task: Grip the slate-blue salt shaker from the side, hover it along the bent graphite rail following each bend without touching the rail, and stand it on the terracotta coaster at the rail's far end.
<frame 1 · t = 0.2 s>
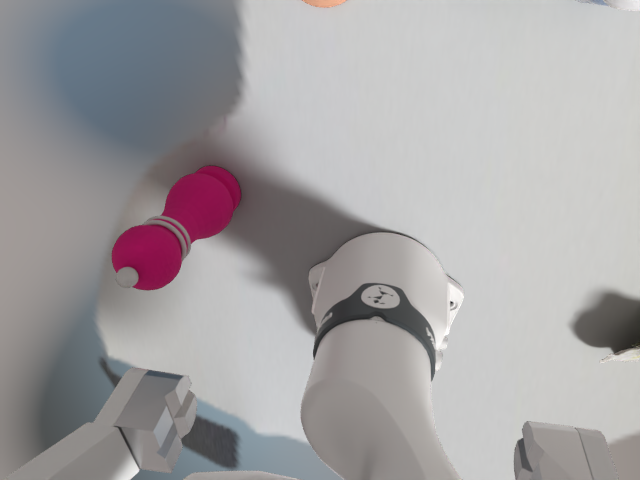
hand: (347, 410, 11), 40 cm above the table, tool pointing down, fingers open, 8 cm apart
pepper mill: (217, 189, 55), on the table
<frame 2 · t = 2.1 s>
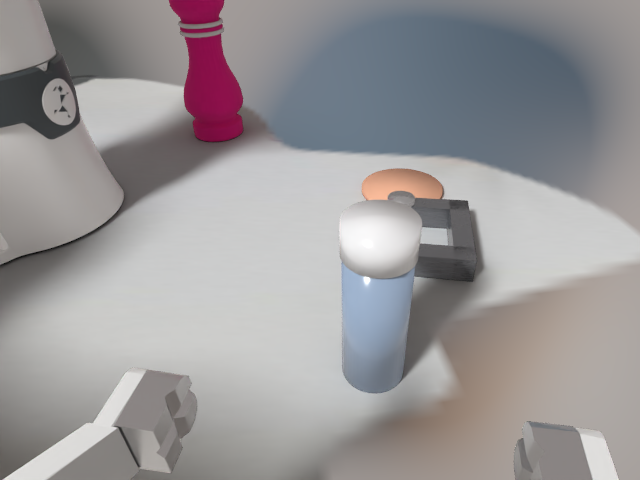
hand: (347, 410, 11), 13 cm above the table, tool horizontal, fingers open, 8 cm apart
pepper mill: (219, 133, 61), on the table
shaker: (372, 367, 29), on the table
rail: (421, 266, 37), on the table
coaster: (401, 190, 47), on the table
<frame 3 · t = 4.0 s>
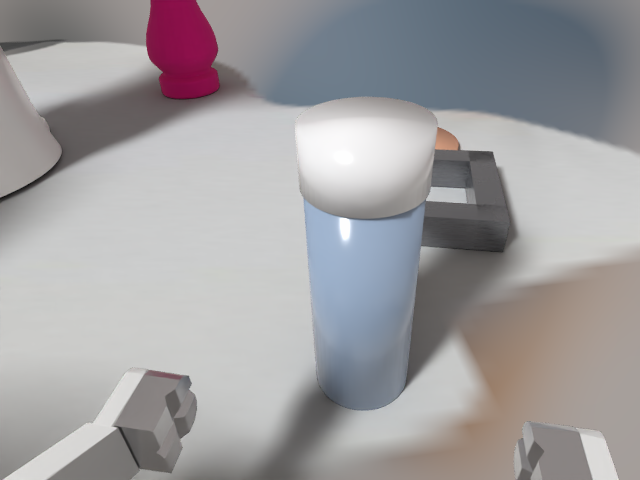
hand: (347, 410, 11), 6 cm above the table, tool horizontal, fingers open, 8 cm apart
pepper mill: (191, 91, 51), on the table
shaker: (361, 370, 20), on the table
rail: (432, 233, 27), on the table
coaster: (406, 146, 37), on the table
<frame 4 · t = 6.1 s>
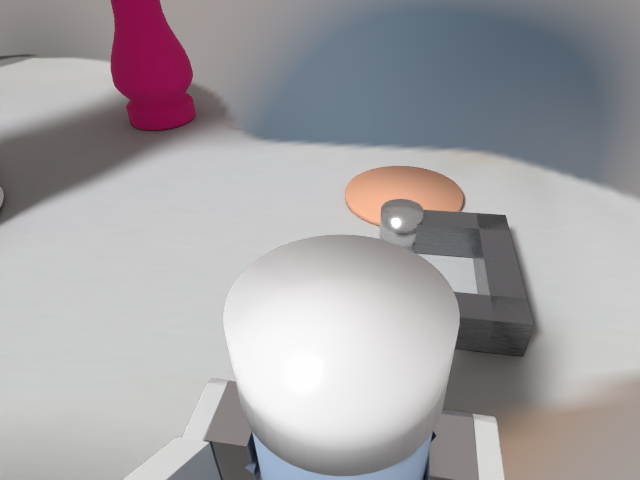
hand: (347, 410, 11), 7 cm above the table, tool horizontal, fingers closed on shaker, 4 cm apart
pepper mill: (164, 120, 46), on the table
rail: (435, 325, 22), on the table
coaster: (402, 197, 32), on the table
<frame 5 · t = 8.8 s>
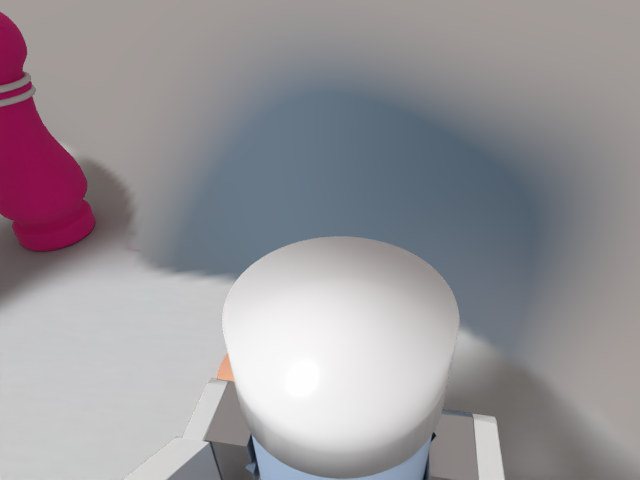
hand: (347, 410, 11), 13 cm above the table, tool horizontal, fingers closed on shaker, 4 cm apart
pepper mill: (59, 233, 42), on the table
when the fingers open (8 cm above the table, at t = 11.8 s): shaker drops 1 cm, resting on coaster.
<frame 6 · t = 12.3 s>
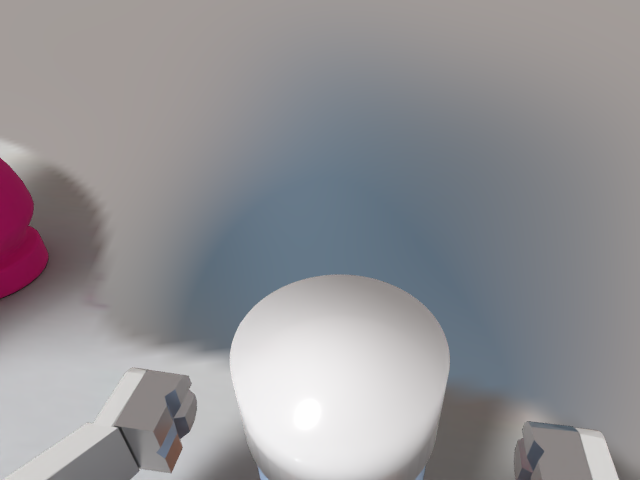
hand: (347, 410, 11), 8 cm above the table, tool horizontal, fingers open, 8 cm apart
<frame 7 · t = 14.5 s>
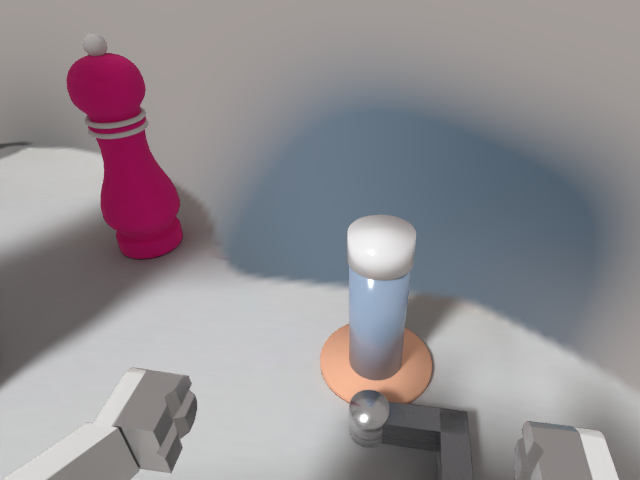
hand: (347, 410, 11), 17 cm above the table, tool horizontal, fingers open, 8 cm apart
pepper mill: (152, 243, 48), on the table
shaker: (375, 359, 33), resting on coaster
coaster: (375, 362, 34), on the table
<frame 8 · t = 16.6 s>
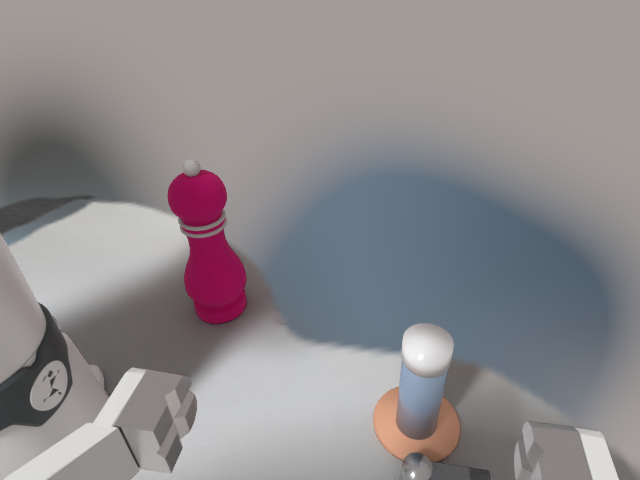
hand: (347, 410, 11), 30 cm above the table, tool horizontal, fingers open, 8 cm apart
pepper mill: (221, 307, 58), on the table
shaker: (416, 421, 43), resting on coaster
coaster: (415, 423, 44), on the table
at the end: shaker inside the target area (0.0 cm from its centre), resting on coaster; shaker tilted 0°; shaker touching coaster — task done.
